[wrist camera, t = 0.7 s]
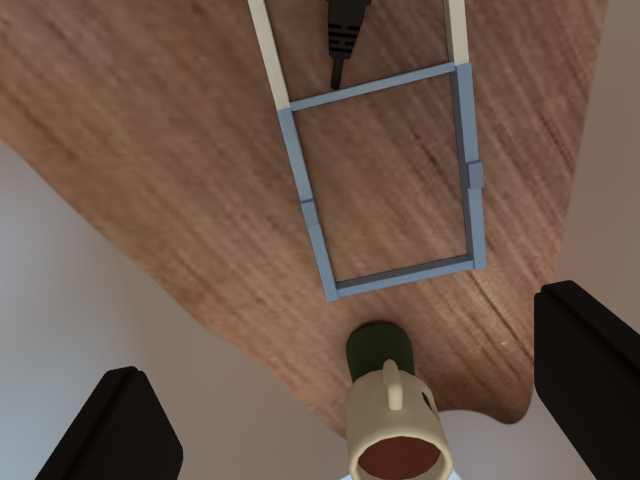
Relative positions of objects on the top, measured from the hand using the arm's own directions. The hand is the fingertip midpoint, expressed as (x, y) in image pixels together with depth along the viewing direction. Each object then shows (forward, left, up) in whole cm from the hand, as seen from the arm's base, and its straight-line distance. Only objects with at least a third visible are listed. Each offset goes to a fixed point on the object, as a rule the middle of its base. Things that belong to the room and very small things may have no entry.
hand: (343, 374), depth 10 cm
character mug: (+19, +1, -25) cm, 31 cm away
